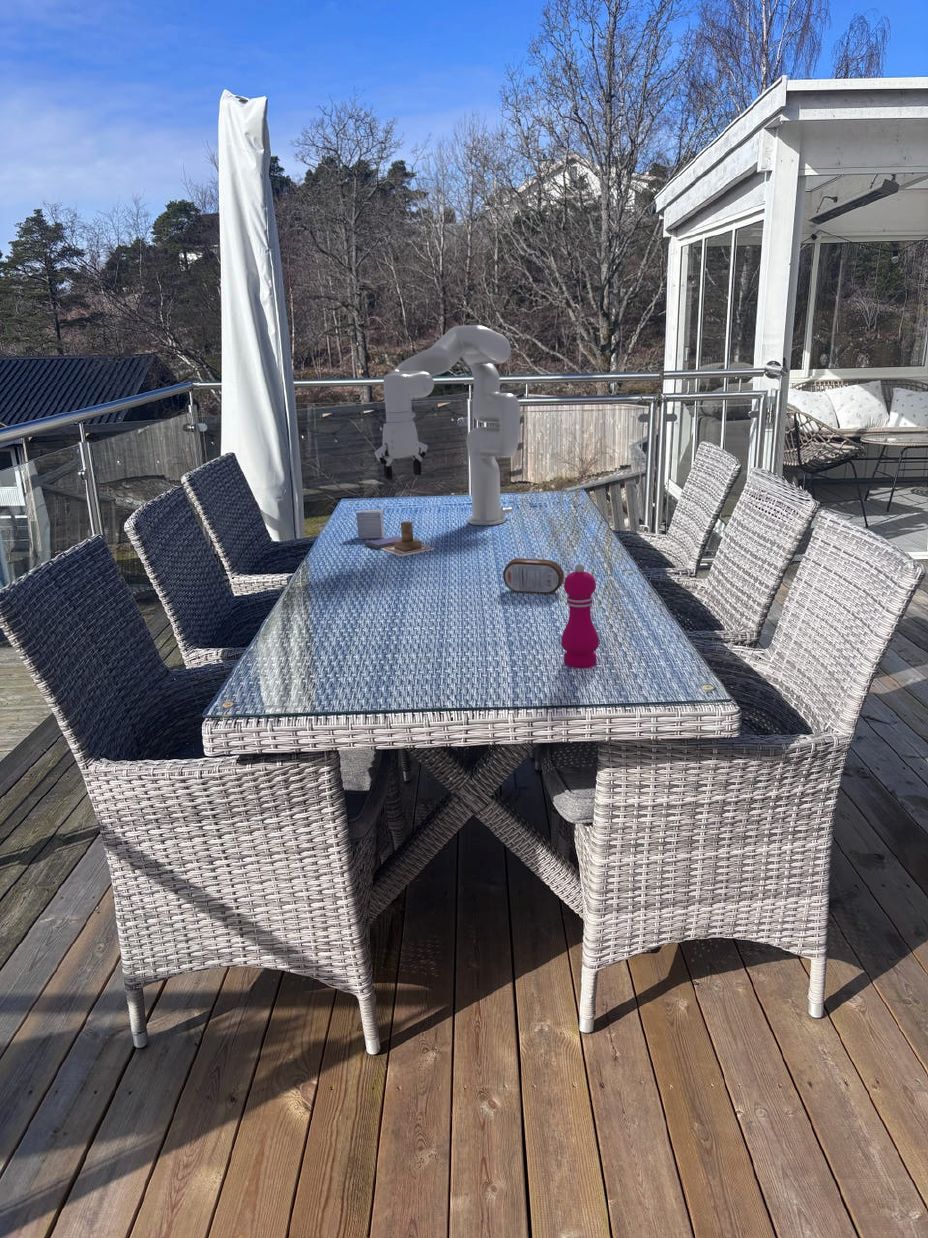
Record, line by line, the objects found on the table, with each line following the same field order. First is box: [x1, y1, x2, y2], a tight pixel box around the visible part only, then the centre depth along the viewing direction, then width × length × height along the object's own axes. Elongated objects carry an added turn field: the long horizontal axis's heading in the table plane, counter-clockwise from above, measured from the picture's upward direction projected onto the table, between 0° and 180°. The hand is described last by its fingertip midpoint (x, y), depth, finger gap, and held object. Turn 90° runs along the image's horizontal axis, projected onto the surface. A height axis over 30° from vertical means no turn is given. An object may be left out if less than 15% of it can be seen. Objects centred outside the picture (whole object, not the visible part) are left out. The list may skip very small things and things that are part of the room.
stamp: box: [394, 520, 423, 552], centre depth 268 cm, size 6×6×8 cm
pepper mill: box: [560, 563, 600, 669], centre depth 171 cm, size 7×7×20 cm
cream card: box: [380, 544, 435, 558], centre depth 269 cm, size 12×12×1 cm
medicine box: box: [355, 509, 386, 540], centre depth 286 cm, size 8×4×9 cm, turn 84°
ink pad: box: [364, 535, 402, 551], centre depth 277 cm, size 12×8×1 cm, turn 124°
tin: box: [502, 557, 565, 595], centre depth 219 cm, size 15×3×8 cm, turn 71°
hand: (403, 477), depth 262 cm, fingers open, 9 cm apart
